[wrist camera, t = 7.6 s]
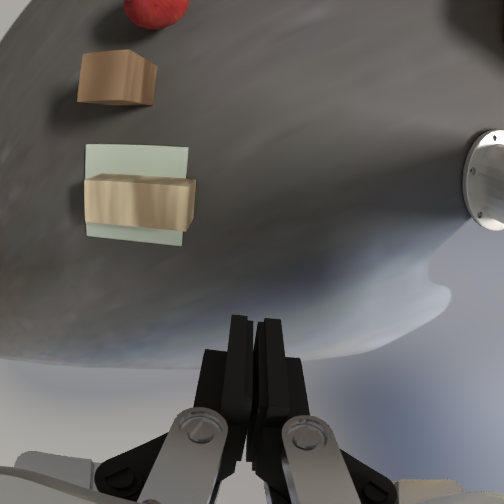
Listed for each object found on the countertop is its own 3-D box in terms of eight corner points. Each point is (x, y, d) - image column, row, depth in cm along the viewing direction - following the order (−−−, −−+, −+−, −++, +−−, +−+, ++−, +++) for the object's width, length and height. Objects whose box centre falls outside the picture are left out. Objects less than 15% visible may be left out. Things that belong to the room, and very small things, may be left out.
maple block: (188, 186, 26) (84, 180, 26) (186, 231, 28) (85, 221, 27) (196, 179, 30) (102, 173, 30) (193, 219, 32) (102, 210, 31)
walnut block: (157, 66, 26) (128, 49, 19) (152, 105, 28) (122, 99, 20) (120, 67, 26) (83, 53, 18) (115, 105, 27) (77, 101, 20)
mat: (188, 147, 29) (187, 147, 29) (182, 245, 33) (181, 246, 33) (87, 144, 29) (86, 144, 28) (87, 235, 32) (86, 235, 32)
